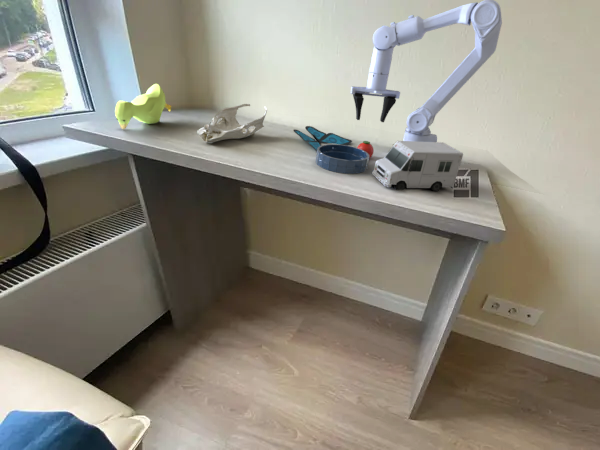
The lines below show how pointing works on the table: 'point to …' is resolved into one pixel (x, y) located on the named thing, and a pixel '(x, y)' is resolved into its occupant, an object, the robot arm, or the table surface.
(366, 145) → the tomato
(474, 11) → the robot arm
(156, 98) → the toy
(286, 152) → the table surface
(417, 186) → the toy truck
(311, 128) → the decorative butterfly
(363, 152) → the bowl
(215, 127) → the anatomical model
